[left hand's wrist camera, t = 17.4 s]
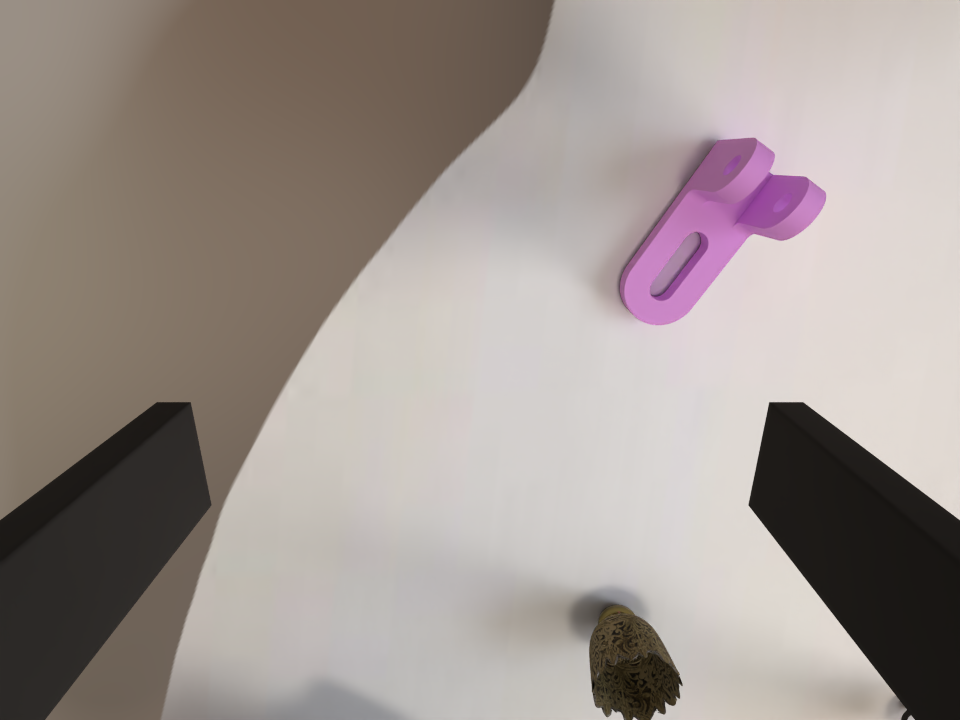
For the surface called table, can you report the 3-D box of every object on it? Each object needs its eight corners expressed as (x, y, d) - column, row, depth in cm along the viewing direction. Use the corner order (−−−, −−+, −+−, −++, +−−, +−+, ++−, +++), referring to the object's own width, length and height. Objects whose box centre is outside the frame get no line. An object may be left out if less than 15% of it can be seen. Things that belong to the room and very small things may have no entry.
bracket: (717, 140, 38) (767, 136, 31) (777, 185, 39) (837, 190, 32) (605, 295, 42) (628, 321, 35) (662, 332, 43) (695, 364, 36)
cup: (668, 600, 52) (700, 675, 44) (631, 653, 54) (655, 733, 47) (598, 575, 51) (619, 648, 43) (564, 631, 53) (577, 709, 46)
